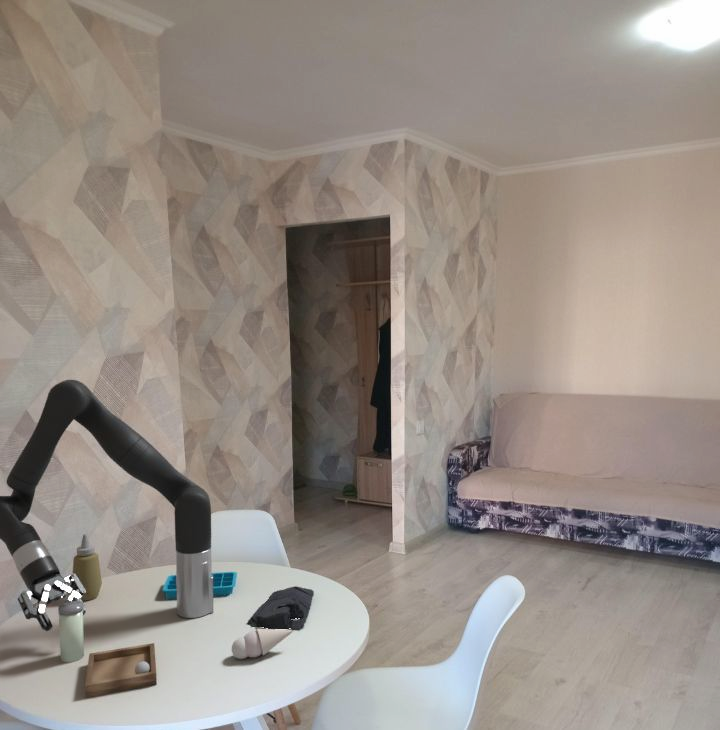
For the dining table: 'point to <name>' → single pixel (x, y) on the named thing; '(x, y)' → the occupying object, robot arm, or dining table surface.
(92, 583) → the squeeze bottle
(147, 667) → the ball
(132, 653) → the tray
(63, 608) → the shaker
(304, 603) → the dark slate chunk
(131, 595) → the dining table surface
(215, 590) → the ice cube tray
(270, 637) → the ice cream cone
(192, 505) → the robot arm
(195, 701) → the dining table surface
